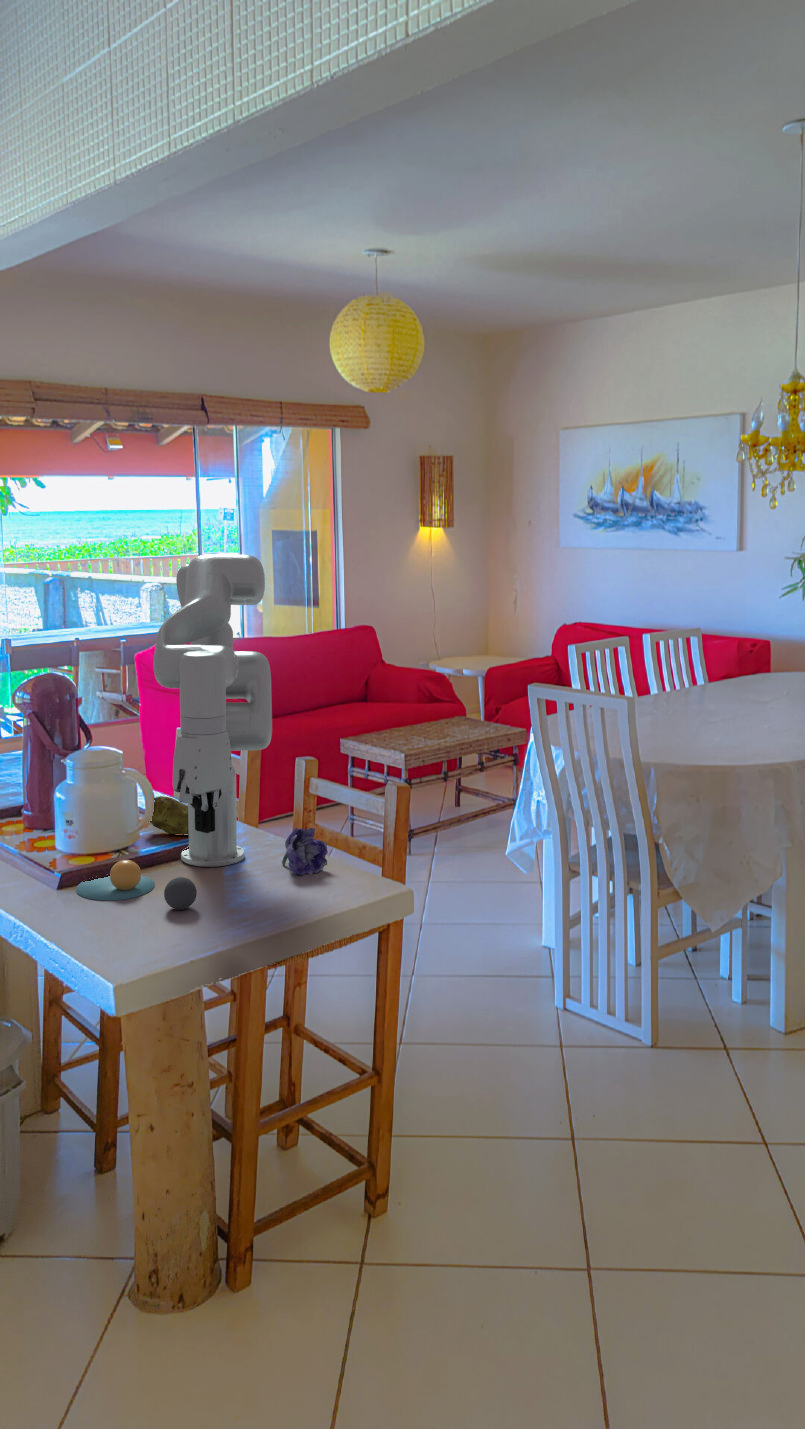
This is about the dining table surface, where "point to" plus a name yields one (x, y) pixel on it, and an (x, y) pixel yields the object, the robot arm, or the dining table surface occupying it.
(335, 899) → the dining table surface
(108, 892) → the teal flat disc
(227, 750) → the robot arm
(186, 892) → the dark grey ball
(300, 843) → the flower
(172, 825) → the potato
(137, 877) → the object ball
